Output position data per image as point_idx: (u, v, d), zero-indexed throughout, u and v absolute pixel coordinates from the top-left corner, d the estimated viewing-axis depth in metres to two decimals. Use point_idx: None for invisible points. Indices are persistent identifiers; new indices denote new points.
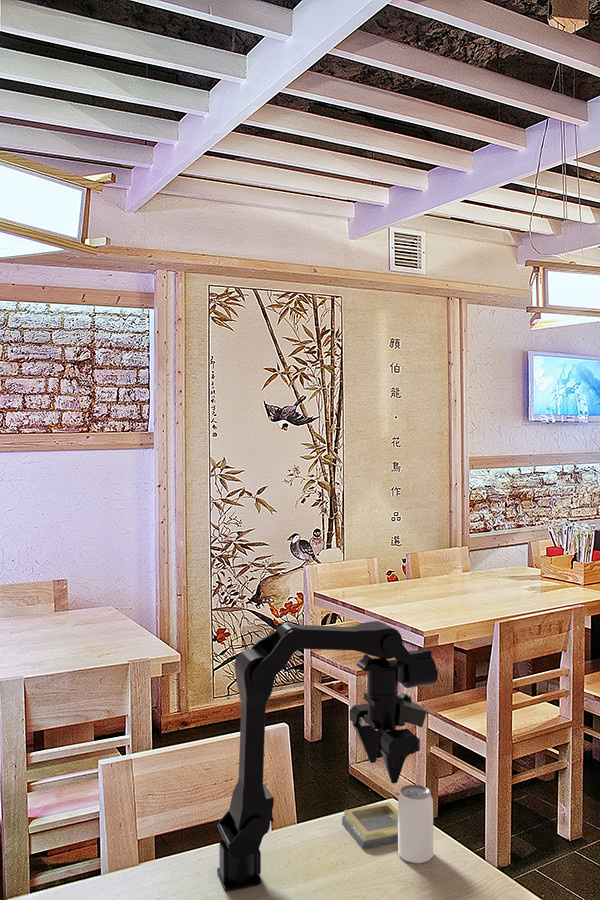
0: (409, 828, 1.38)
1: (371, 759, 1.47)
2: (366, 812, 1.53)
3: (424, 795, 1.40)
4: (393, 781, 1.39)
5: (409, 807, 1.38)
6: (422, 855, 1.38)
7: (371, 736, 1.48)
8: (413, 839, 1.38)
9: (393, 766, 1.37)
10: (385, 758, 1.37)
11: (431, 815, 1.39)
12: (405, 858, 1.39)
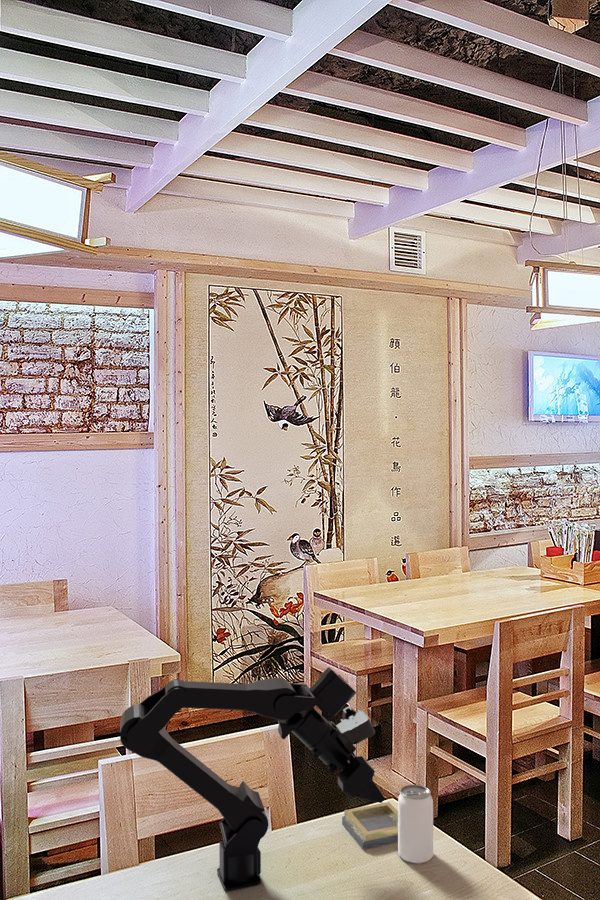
0: (409, 828, 1.38)
1: None
2: (366, 812, 1.53)
3: (424, 795, 1.40)
4: (380, 801, 1.34)
5: (409, 807, 1.38)
6: (422, 855, 1.38)
7: (348, 760, 1.43)
8: (413, 839, 1.38)
9: (368, 793, 1.33)
10: (354, 795, 1.32)
11: (431, 815, 1.39)
12: (405, 858, 1.39)
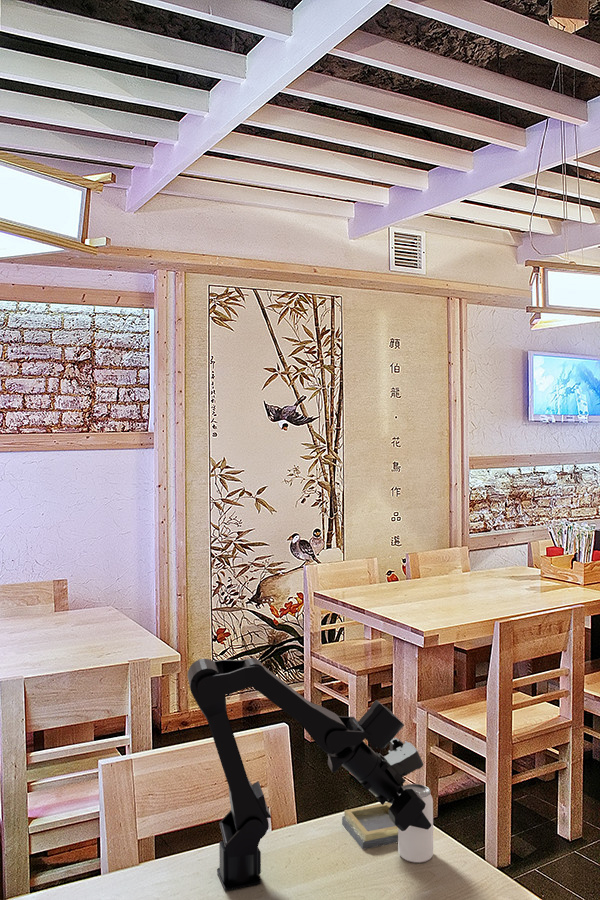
0: (409, 827, 1.39)
1: None
2: (366, 812, 1.53)
3: (424, 794, 1.40)
4: (427, 827, 1.38)
5: None
6: (422, 854, 1.38)
7: (398, 794, 1.44)
8: (413, 837, 1.38)
9: (415, 821, 1.37)
10: None
11: (431, 814, 1.40)
12: (405, 857, 1.39)
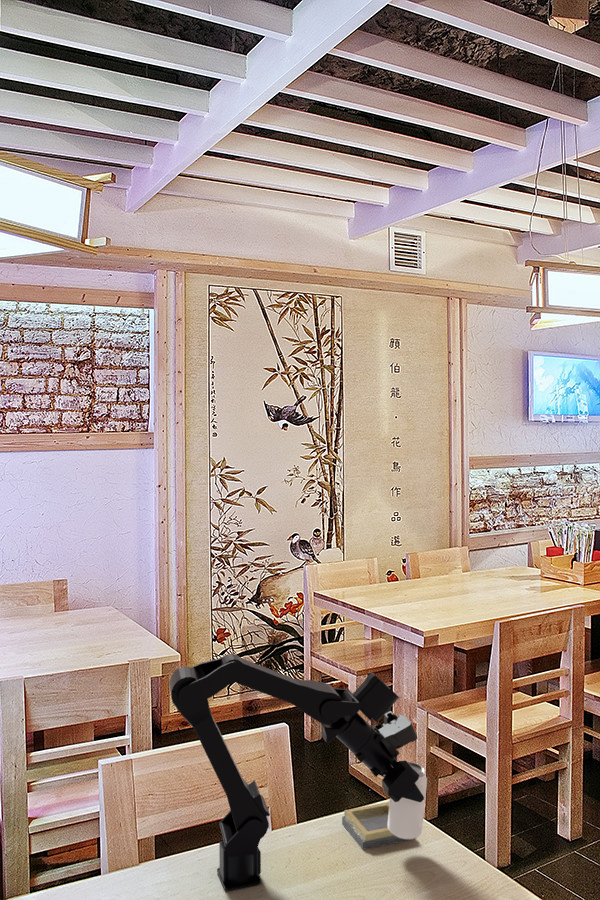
0: (401, 805, 1.39)
1: None
2: (366, 812, 1.53)
3: (419, 774, 1.40)
4: (420, 800, 1.38)
5: None
6: (412, 832, 1.39)
7: None
8: (404, 815, 1.39)
9: (408, 793, 1.36)
10: None
11: (424, 794, 1.40)
12: (394, 833, 1.40)
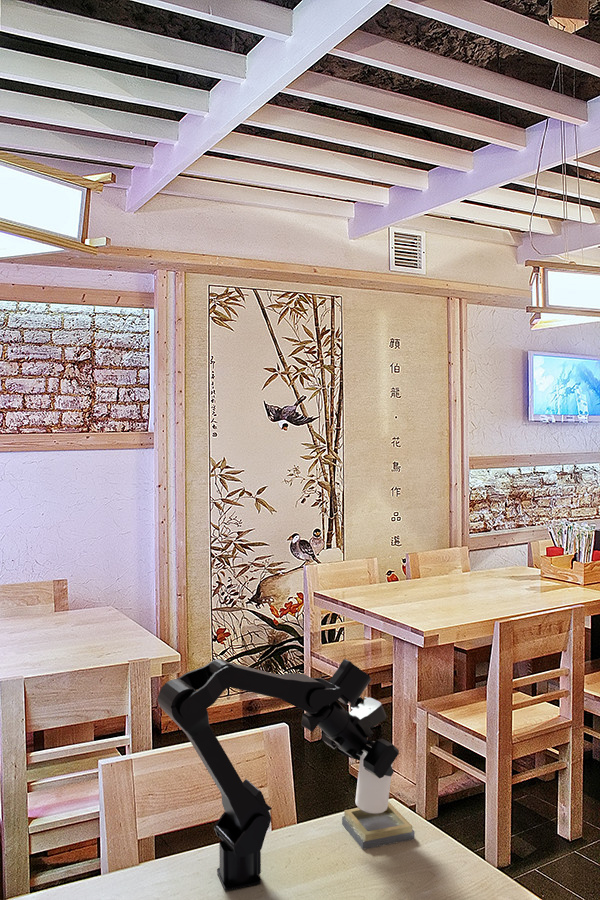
0: (373, 782, 1.47)
1: None
2: None
3: None
4: (390, 774, 1.47)
5: None
6: (382, 805, 1.48)
7: None
8: (376, 791, 1.47)
9: None
10: None
11: None
12: (366, 810, 1.47)
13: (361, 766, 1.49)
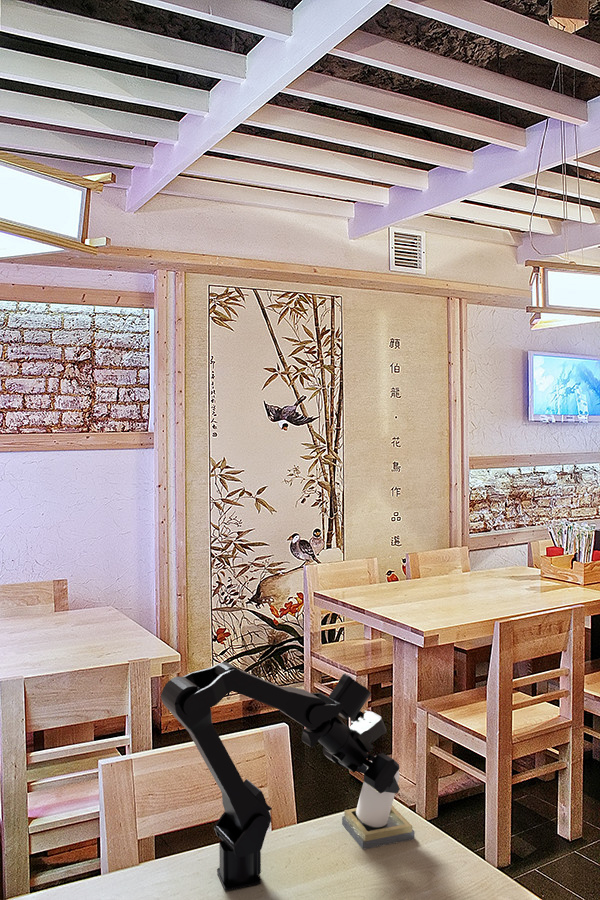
0: (377, 797, 1.46)
1: None
2: None
3: None
4: (396, 791, 1.46)
5: None
6: (383, 820, 1.48)
7: None
8: (379, 806, 1.47)
9: (388, 786, 1.44)
10: None
11: None
12: (366, 823, 1.47)
13: None
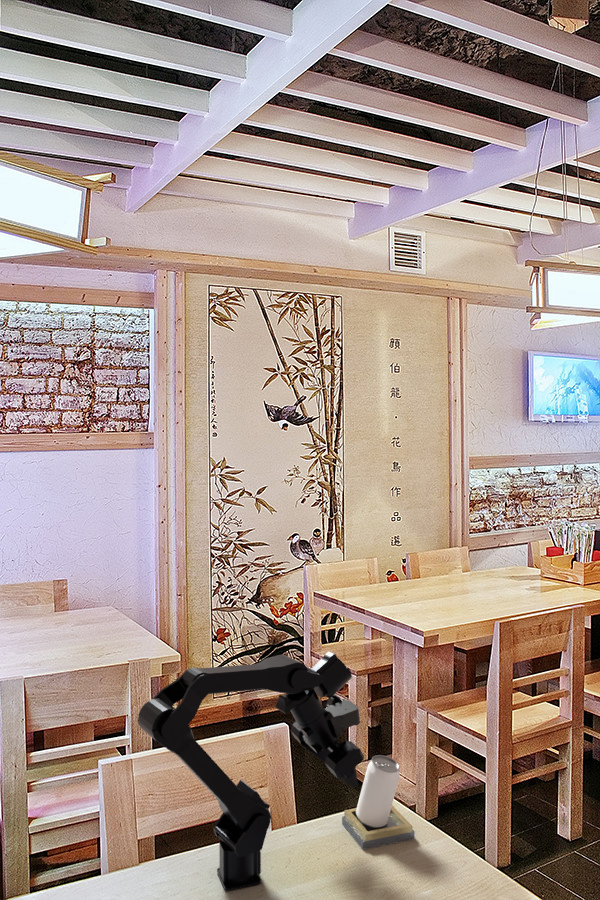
0: (377, 797, 1.46)
1: None
2: None
3: (394, 768, 1.48)
4: (354, 786, 1.42)
5: (383, 779, 1.46)
6: (383, 820, 1.48)
7: None
8: (379, 806, 1.47)
9: (347, 777, 1.40)
10: None
11: None
12: (366, 823, 1.47)
13: (367, 780, 1.48)
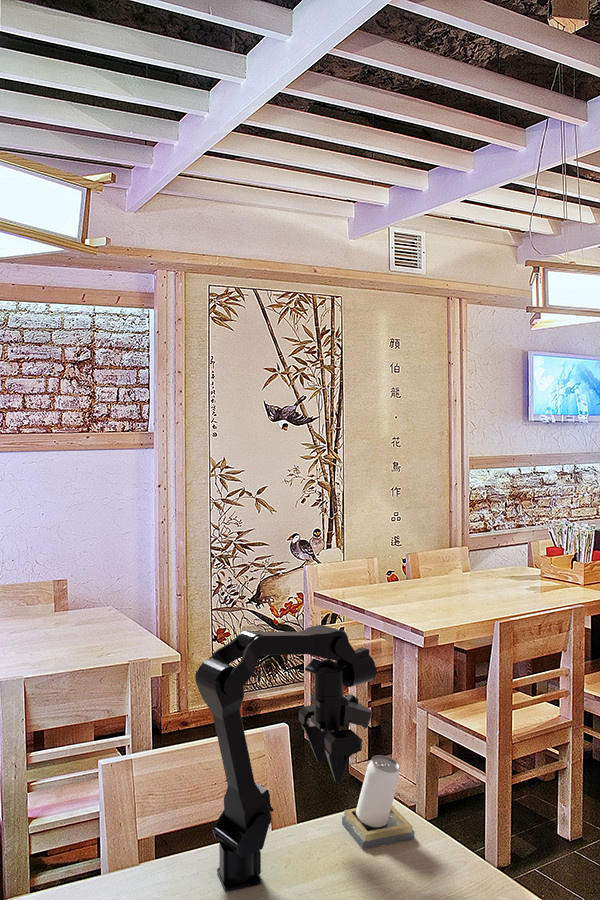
0: (377, 797, 1.46)
1: (318, 759, 1.51)
2: None
3: (394, 768, 1.48)
4: (337, 780, 1.42)
5: (383, 779, 1.46)
6: (383, 820, 1.48)
7: (319, 736, 1.52)
8: (379, 806, 1.47)
9: (336, 765, 1.41)
10: (328, 758, 1.40)
11: None
12: (366, 823, 1.47)
13: (367, 780, 1.48)
